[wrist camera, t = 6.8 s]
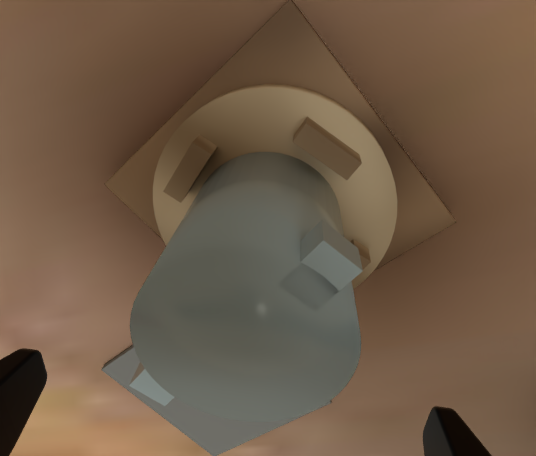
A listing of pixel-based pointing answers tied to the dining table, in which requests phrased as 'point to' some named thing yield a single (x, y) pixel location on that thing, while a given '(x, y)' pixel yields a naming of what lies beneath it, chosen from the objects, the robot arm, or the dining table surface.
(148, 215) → the turntable base
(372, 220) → the turntable
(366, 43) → the dining table surface
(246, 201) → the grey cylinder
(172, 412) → the mat
